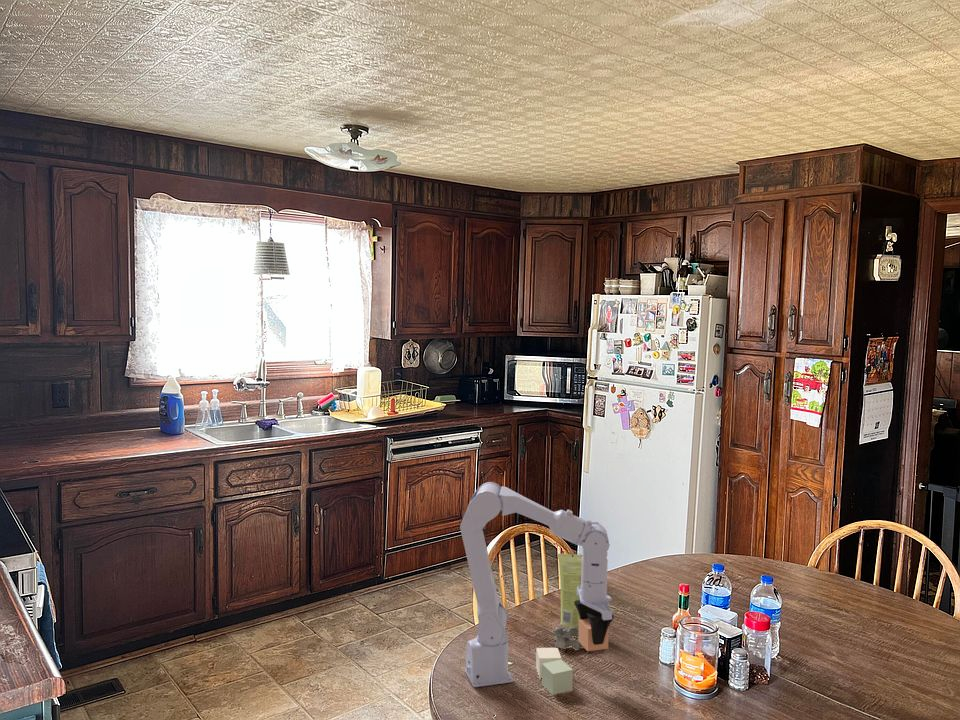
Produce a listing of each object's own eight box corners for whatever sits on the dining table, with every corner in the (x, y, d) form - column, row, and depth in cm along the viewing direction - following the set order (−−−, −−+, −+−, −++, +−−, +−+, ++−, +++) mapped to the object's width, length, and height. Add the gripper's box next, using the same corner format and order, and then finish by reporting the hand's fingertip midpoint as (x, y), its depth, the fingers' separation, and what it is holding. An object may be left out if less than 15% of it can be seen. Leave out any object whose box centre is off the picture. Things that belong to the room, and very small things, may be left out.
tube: (571, 619, 196) (572, 549, 195) (585, 625, 192) (586, 554, 191) (556, 625, 193) (557, 553, 191) (570, 631, 189) (571, 558, 187)
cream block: (539, 679, 164) (539, 658, 164) (536, 668, 169) (536, 648, 169) (561, 679, 165) (561, 657, 164) (557, 668, 170) (557, 647, 169)
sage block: (552, 696, 157) (552, 674, 157) (541, 685, 162) (541, 663, 162) (572, 691, 159) (572, 669, 159) (561, 680, 164) (561, 659, 164)
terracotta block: (587, 651, 159) (588, 629, 159) (578, 641, 164) (578, 619, 164) (608, 648, 161) (608, 626, 160) (598, 638, 165) (599, 617, 165)
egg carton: (554, 651, 178) (554, 635, 178) (553, 637, 186) (553, 622, 186) (598, 652, 178) (598, 636, 178) (595, 638, 185) (595, 623, 185)
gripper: (625, 589, 155) (624, 650, 156) (596, 566, 169) (595, 622, 170) (595, 592, 153) (594, 654, 154) (568, 568, 167) (567, 625, 168)
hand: (592, 638), depth 162 cm, fingers closed on terracotta block, 5 cm apart
